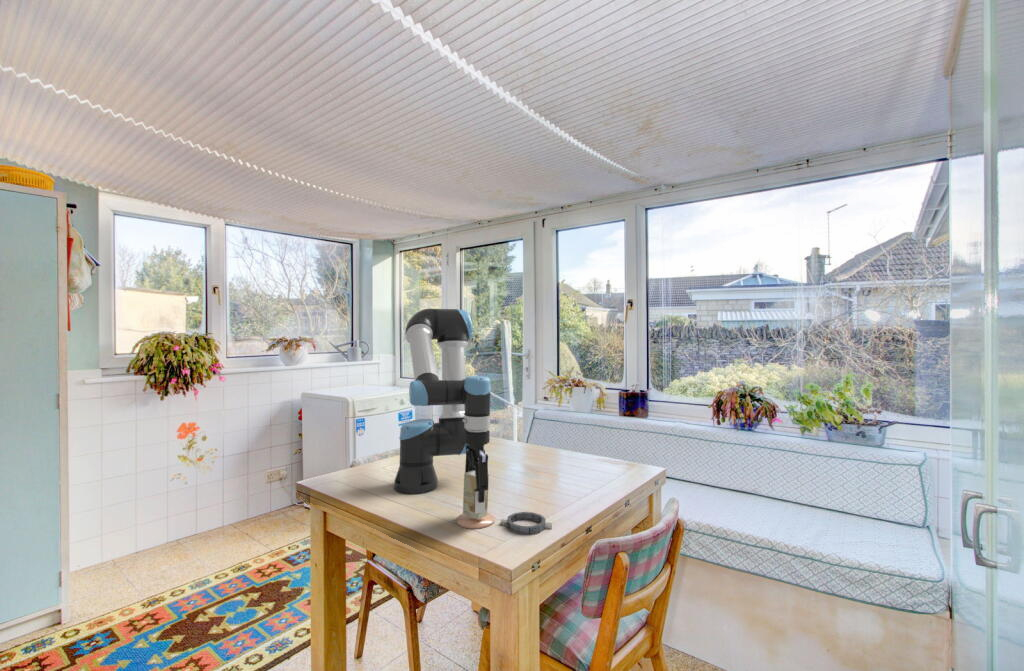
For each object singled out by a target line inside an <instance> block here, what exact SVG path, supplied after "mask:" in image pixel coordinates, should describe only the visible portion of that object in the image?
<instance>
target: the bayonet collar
mask: <svg viewBox="0 0 1024 671" xmlns="http://www.w3.org/2000/svg"><path fill="white" fill-rule="evenodd" d="M521 520H528V521H529V520H530V521H534V522H537V524H534V525H529V526H528V525H521V524H520V525H519V524H517V523H514V522H516V521H521ZM500 526H505V527H507V529H508V530H509V531H511V532H513V533H515V534H516V533H517V534H519V535H535V534H540V533H541V532H543V531H544V530H546V529H549V530H550V529H551V530H552V529H553V522H546V518H545V517H544V515H542V514H539V513H536V512H532V511H531V512H530V511H520V512H514V513H511V514H510V515H508V517H507V519H501V520H500Z"/></svg>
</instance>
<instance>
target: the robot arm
mask: <svg viewBox="0 0 1024 671" xmlns="http://www.w3.org/2000/svg"><path fill="white" fill-rule="evenodd" d="M473 328H474V327H473V322H472V318H471V316H470V313H469V312H468V310H464V309H458V308H455V309H454V308H425V309H422V310H419V311H417V312H416V313H414V315H412V316H411V318H409V320H408V322H407V324H406V327H405V330H404V331H405V339H406V341H407V343H408V344H409V349H410V355H411V356H410V357H411V363H412V371H413V377H414V378H413V379H414V380H411V382H410V383H409V388H408V389H409V390H408V392H409V394H408V396H409V397H408V398H409V402H410V403H409V404H410V405H411V406H415V407H416V406H420V407H427V406H442V413H441V415H440V416H439V417H438V422H434V419H432V418H419V419H415V420H409V421H406V422H405V423H404V424H402V425H401V427H400V430H399V432H400V433H399V465H398V466H399V467H398V468H397V469H398V470H397V472H396V475H395V479H394V481H393V483H394V484H393V487H394V490H395V491H396V492H398V493H401V494H408V495H409V494H410V495H411V494H412V495H414V494H415V495H416V494H424V493H428V492H433V490H435V489H437V487H438V486H439V485H438V483H439V481H438V476H437V473H436V469H435V466H434V457H441V456H442V457H443V456H460V455H465V467H464V468H465V469H464V473H466V472H469V471H472V470H475V476H476V486H477V489H474V491H475V513H476V514H478V513H485V490H488V491H489V482H488V474H489V468H488V467H489V466H488V465H489V454H486V450H485V445H487V444H489V443H490V441H491V440H490V438H491V437H490V436H491V435H490V433H491V431H490V430H489V429H490V428H491V390H492V387H491V379H490V378H489V377H488V376H483V375H471V376H470V375H469V376H467V377H466V366H465V365H466V364H465V363H466V361H465V360H466V358H465V355H466V354H465V349H466V347H468V345H469V341H471V340H472V338H473ZM432 340H434V341H436V342H437V343H436V344H437V346H438V347H439V348H440V350H441V380H440V377H439V373H438V367H437V362H436V356H435V353H434V348H433V342H432Z"/></svg>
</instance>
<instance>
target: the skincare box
mask: <svg viewBox="0 0 1024 671" xmlns="http://www.w3.org/2000/svg"><path fill="white" fill-rule="evenodd" d="M489 476H490V475H489V473H488V483H489V478H490V477H489ZM474 489H477V486H476V476H475V470H472V471H469V472H466V473H465V472H464V474H463V497H462V498H463V500H462V514H465V515H467V516H470V517H473V518H476V519H480V518H482V517H484V516H486V515H487V513H488V505H489V504H488V503H489V501H488V500H489V489H488V490H485V513H478V514H476V513H475V491H474Z"/></svg>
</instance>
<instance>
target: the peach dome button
mask: <svg viewBox="0 0 1024 671" xmlns="http://www.w3.org/2000/svg"><path fill="white" fill-rule="evenodd" d="M494 523H495V516H494V515H493V514H492V513H489V512H487V515H486V516H484V517H482V518H480V519H476V518H473V517H470V516H467V515H465V514H463V513H461V514H459V515H458V516H457V517H456V524H457V525H458V526H460V527H462V528H463V529H464V528H465V529H470V530H472V529H473V530H478V529H480V530H481V529H485V528H488V527H490V526H492V525H493V524H494Z"/></svg>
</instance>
